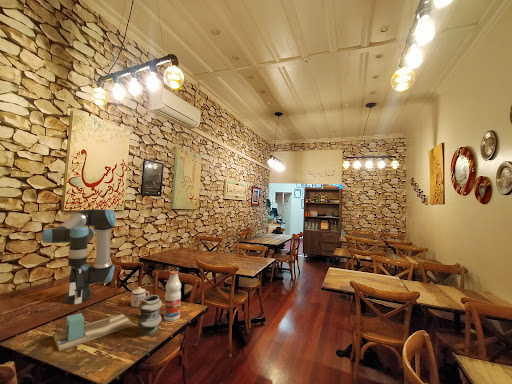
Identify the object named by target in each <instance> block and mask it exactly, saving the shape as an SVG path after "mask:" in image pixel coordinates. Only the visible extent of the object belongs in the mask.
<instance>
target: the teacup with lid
mask: <svg viewBox="0 0 512 384" xmlns="http://www.w3.org/2000/svg"><path fill="white" fill-rule="evenodd" d="M146 293H147V294H146ZM149 295H150V292H149V291H147V290H146V288H142V287H141V286H138V287H136V288H135V289H133V290H132V291H131V295H130V297H131V299H130V307H132V308H139V304H140V303H141V302H142V300H143V298H144V297H146V296H149Z"/></svg>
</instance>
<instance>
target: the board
mask: <svg viewBox="0 0 512 384" xmlns="http://www.w3.org/2000/svg"><path fill="white" fill-rule="evenodd" d="M132 326H133V322H132V321H131V320H130V319H129V318H128V317H127V316H126V315H125V314H123V313H120V314H117V315H113V316H110V317H107V318H103V319H100V320H97V321H93V322H90V323H86V324H84V333H83V336H82V337H79V338H76V339H73V340H70V341H68V331H66V330H63V331H59V332H56V333H54V334H53V339H54V342H55V345H56V348H57V350H58V352H61V351H64V350H67V349H70V348H73V347H75V346H78V345H81V344H83V343H84V344H85V343H87V342H89V341H93V340H96V339H98V338H102V337H104V336H107V335H110V334H113V333H117V332H119V331H122V330H125V329H128V328H131V327H132Z"/></svg>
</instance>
